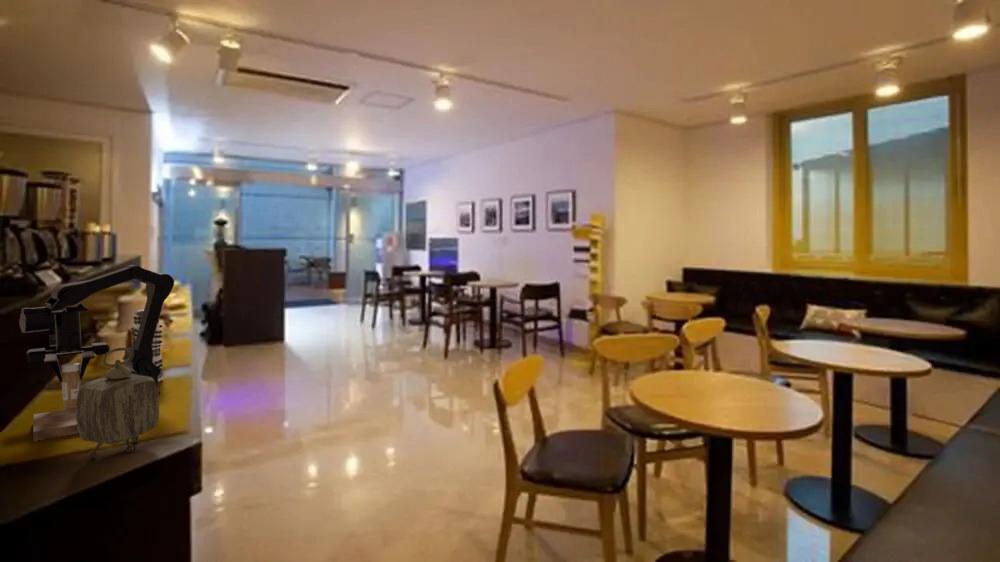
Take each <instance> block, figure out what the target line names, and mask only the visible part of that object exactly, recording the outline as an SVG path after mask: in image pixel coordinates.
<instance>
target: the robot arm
mask: <svg viewBox="0 0 1000 562" xmlns="http://www.w3.org/2000/svg"><path fill="white" fill-rule="evenodd" d="M131 280H136V281H138V282H141V283H143V284H145V294H146V303H145V305H144V312H143V316H142V320H141V323H140V327H139V330H138V334H137V338H136V341H135V343H134V344H133V343H132V346H131V347H129V346H125V348H127V349H129V350H130V351H131V354H132V356H131V359H130V360H129V361H128V362H127V363H125V364H123V365H124V367H126V368H128V369H129V370H130V372H131V375H140V376H148V377H152V378H153V379H154V381H155V382H156V385H157V388H158V389H159V381H158V376H159V375H160V372H161V369H160V368H159V367H157V366H156V365H155V364H153V350H152V342H153V338H154V335H155V331H156V327H157V324H158V320H159V321H160V316H161V312H162V308H163V305H164V302H165V301H166V299H167V298H168V297H169V296H170V295H171V292H172V290H173V289H174V285H175V279H174V278H173V276H171V275H170V274H168V273H167V274H166V273H160V272H154V271H151V270H149V269H146V268H144V267H141V266H139V265H135V264H130V265H129V264H128V265H127V266H125V267H122V268H120V269H117V270H114V271H112V272H111V271H110V272H108V273H104V274H102V275H99V276H96V277H93V278H90V279H86V280H82V281H74V282H68V283H64V284H63V283H62V284H58V285H56V286H54V287H53V288H52V290H51V292H50V297H49V298H48V299H47V301H45V303H43V305H42V306H40V307H22V308H21V313H20V315H19V319H18V324H19V328H20V331H21V332H22V334H26V333H34V332H35V333H36V332H43V331H49V330H51V328H55V334H49V347H55V348H56V349H50V350H46V348H45V347H42V348H41V347H39V348H30V349H28V350H27V352H26V362H27V363H36V362H42V361H43V364H44V365H45V364H49V366H50V367H51V368H52V370H53V371H54V372H55V375H56V377H57V379H58V381H59V383H62V374H61V370H60V364H59V361H58V360H59V359H58V357H60V356H71V355H81V358H80V381H81V380H83V377H84V376H85V371H86V370H87V367H88V366H89V363H90V361H91V359H95V358H96V356H101V355H105V354H106V353H107V352H109V351H110V350H111V349H110V345H109V343H108V342H106V341H103V342H92V343H91V346H82V330H81V315H80V314H81V312H82V313H83V312H84V313H85V312H88V311H89V308H87V307H86V306H84V304H82V303H80V302H82V301H84V300H86V299H87V298H89V297H91V295H94V294H95V293H98V292H100V291H103V290H106V289H108V288H111V287H115V286H117V285H120V284H123V283H125V282H129V281H131ZM128 358H129V353H128V352H127V351H124V355H123V357H122V361H125V360H127V359H128ZM158 395H160V390H158Z"/></svg>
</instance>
